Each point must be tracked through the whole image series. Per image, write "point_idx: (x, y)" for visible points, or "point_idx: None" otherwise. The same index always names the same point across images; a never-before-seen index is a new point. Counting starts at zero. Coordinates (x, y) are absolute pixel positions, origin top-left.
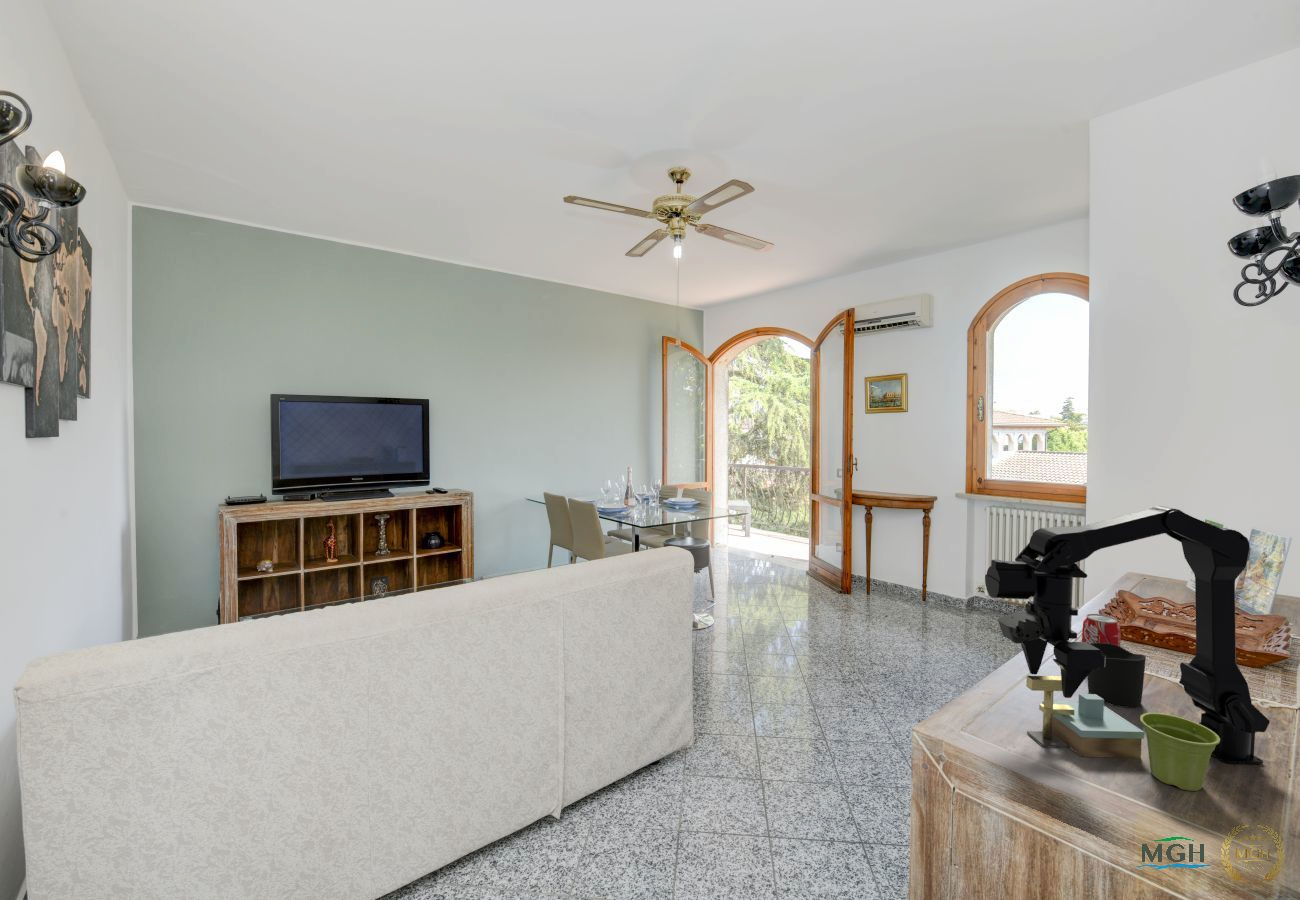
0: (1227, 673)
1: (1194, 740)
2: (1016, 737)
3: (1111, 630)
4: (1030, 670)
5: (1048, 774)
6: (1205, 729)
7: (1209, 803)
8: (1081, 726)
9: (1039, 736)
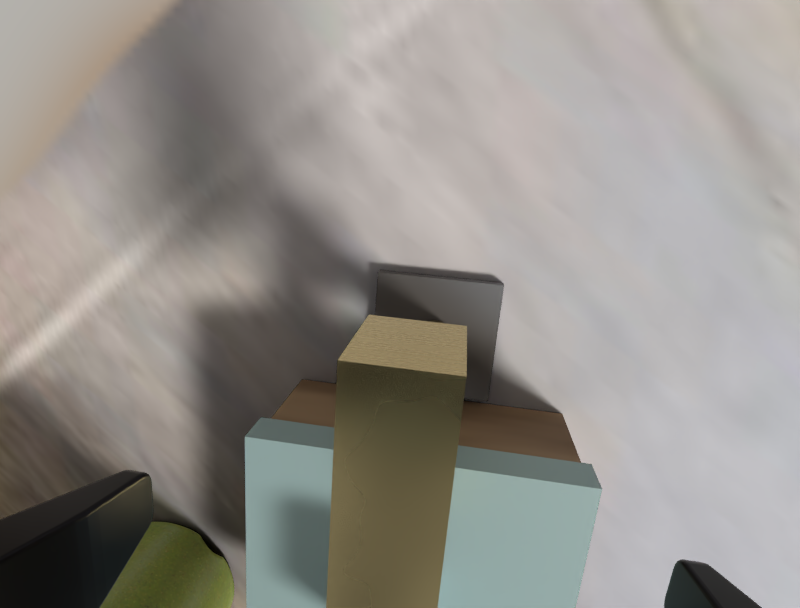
0: None
1: None
2: (470, 198)
3: None
4: (707, 585)
5: (162, 131)
6: None
7: None
8: (285, 468)
9: (449, 310)
